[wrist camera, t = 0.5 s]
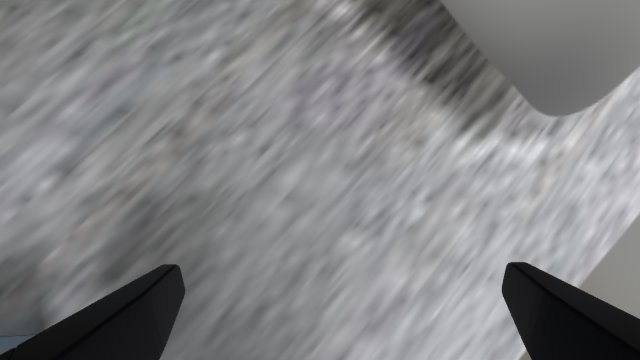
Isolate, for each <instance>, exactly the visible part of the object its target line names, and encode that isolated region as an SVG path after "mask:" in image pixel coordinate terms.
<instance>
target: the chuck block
mask: <svg viewBox="0 0 640 360" xmlns="http://www.w3.org/2000/svg"><path fill="white" fill-rule="evenodd" d="M33 336H35V335H25V336H11V337H0V354H2V353H4V352H6V351H8V350H9V349H11V348H16V347H17V345H19V344H20V343H22V342H24V341H26V340H28V339H30V338H31V337H33Z"/></svg>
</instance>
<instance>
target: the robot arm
mask: <svg viewBox="0 0 640 360" xmlns="http://www.w3.org/2000/svg"><path fill="white" fill-rule="evenodd" d="M502 294H503V297H504V300H505V302H506V304H507V307H508V309H509V311H510V313H511V316H512V318H513V320H514V323H515V325H516V327H517V329H518V332H519V334H520V336H521V339H522V341H523V343H524V345H525V347H526V349H527V352H528V353H529V355H530V357H531V359H532V360H640V319H639V318H637V317H635V316H633V315H631V314H628V313H627V312H625V311H623V310H621V309H618V308H616V307H614V306H612V305H610V304H608V303H606V302H604V301H602V300H600V299H598V298H596V297H594V296H592V295H590V294H588V293H586V292H584V291H582V290H580V289H578V288H576V287H574V286H572V285H570V284H568V283H566V282H564V281H562V280H560V279H558V278H556V277H554V276H552V275H550V274H548V273H546V272H544V271H542V270H540V269H538V268H536V267H534V266H532V265H530V264H528V263H526V262H510V263H508V264H507V266H506V269H505V274H504V279H503V284H502ZM184 295H185V286H184V282H183V278H182V274H181V270H180V267H179V266H178V265H176V264H164V265H161V266H159V267H158V268H156V269H154V270H152V271H150V272H149V273H147V274H145V275H143V276H141V277H140V278H138V279H136V280H134V281H132V282H130V283H129V284H127V285H125V286H123V287H121V288H120V289H118V290H116V291H114V292H112V293H111V294H109V295H107V296H105V297H103V298H102V299H100V300H98V301H96V302H94V303H93V304H91V305H89V306H87V307H85V308H84V309H82V310H80V311H78V312H76V313H75V314H73V315H71V316H69V317H67V318H66V319H64V320H62V321H60V322H58V323H57V324H55V325H53V326H51V327H49V328H48V329H46V330H44V331H42V332H40V333H39V334H37V335H35V336H33V337H31V338H30V339H28V340H26V341H24V342H22V343H20V344H19V345H17V347H16V348H11V349H9V350H8V351H6V352H4V353H2V354H0V360H159V359H160V357H161V355H162V353H163V350H164V348H165V346H166V343H167V341H168V338H169V336H170V333H171V330H172V328H173V325H174V322H175V320H176V317H177V314H178V312H179V309H180V306H181V304H182V301H183V298H184Z"/></svg>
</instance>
